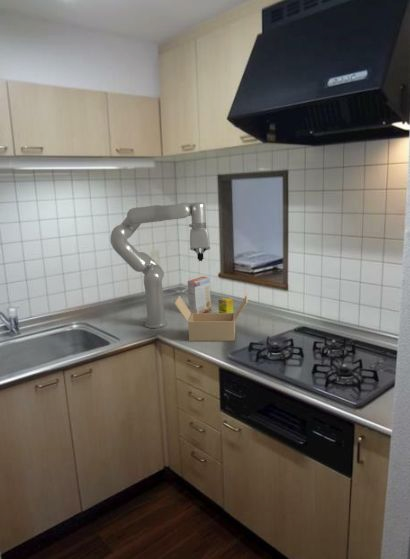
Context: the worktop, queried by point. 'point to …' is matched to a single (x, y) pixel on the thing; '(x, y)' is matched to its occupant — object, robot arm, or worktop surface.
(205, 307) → the cracker box
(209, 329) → the carton
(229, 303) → the supplement box
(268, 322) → the worktop surface
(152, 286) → the robot arm
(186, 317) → the flap
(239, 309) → the flap
